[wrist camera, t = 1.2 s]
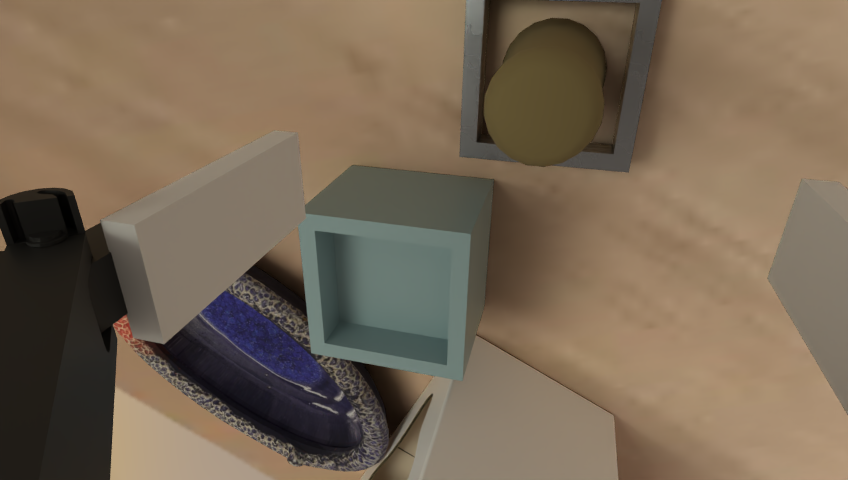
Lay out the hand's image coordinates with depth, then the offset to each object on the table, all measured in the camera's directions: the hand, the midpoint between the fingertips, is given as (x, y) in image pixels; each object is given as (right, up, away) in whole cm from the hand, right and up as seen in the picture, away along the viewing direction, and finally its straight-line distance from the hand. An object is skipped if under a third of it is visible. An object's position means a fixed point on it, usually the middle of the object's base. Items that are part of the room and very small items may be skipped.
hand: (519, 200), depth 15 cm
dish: (-17, -9, +33) cm, 38 cm away
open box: (-3, -1, +24) cm, 25 cm away
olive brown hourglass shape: (+5, +9, +17) cm, 20 cm away
